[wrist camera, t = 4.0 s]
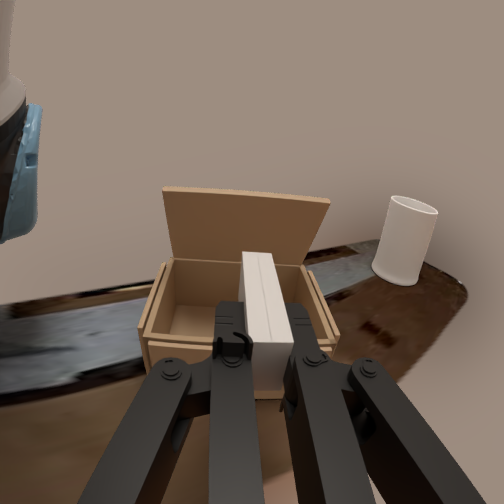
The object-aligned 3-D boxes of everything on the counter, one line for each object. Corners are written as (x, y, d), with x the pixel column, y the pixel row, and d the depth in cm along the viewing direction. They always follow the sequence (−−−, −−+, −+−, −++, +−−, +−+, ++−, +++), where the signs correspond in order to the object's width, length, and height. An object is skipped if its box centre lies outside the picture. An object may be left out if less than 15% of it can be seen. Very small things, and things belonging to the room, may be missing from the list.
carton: (144, 392, 21) (131, 341, 18) (167, 303, 32) (164, 256, 30) (325, 396, 23) (346, 349, 20) (299, 309, 34) (309, 265, 31)
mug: (403, 256, 51) (421, 197, 46) (435, 278, 44) (457, 214, 39) (361, 263, 47) (378, 193, 41) (395, 290, 40) (420, 214, 34)
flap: (173, 258, 29) (162, 190, 21) (174, 252, 29) (163, 185, 22) (301, 265, 30) (330, 203, 23) (300, 260, 31) (329, 197, 23)
